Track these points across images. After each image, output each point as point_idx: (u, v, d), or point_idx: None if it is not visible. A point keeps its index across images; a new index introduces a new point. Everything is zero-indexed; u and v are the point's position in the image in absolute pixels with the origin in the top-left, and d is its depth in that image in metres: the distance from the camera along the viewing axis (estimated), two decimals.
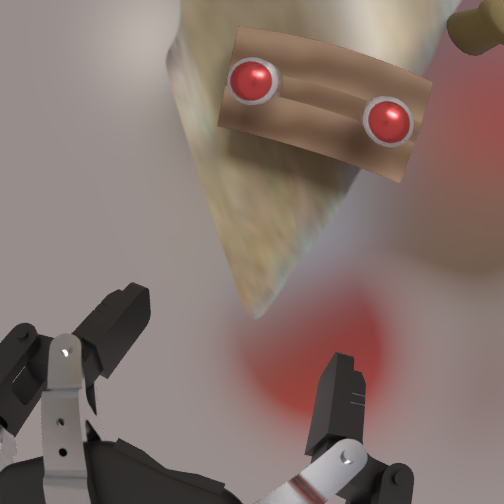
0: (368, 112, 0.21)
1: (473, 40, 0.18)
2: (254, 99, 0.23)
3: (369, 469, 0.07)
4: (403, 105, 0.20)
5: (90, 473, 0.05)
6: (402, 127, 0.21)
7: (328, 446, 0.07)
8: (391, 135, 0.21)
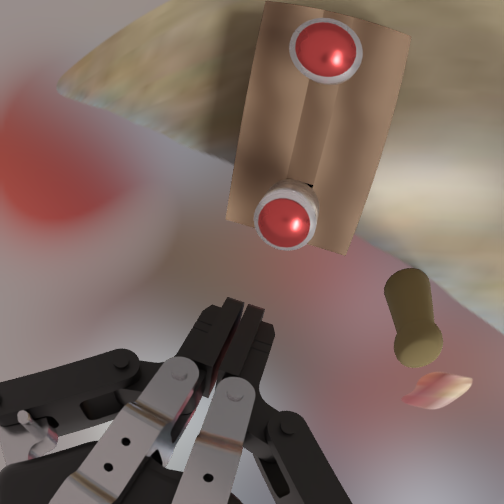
0: (292, 198, 0.20)
1: (398, 302, 0.29)
2: (297, 53, 0.15)
3: (261, 414, 0.08)
4: (307, 239, 0.21)
5: (122, 497, 0.05)
6: (279, 238, 0.21)
7: None
8: (267, 226, 0.21)
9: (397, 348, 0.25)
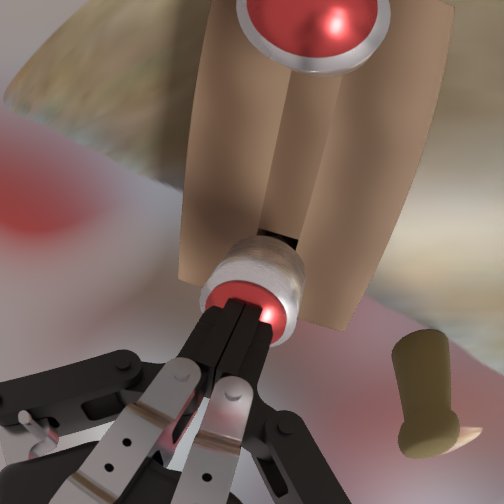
0: (256, 282, 0.12)
1: (409, 378, 0.21)
2: (251, 12, 0.06)
3: (259, 414, 0.08)
4: (282, 338, 0.13)
5: (122, 497, 0.05)
6: None
7: None
8: None
9: (402, 443, 0.17)
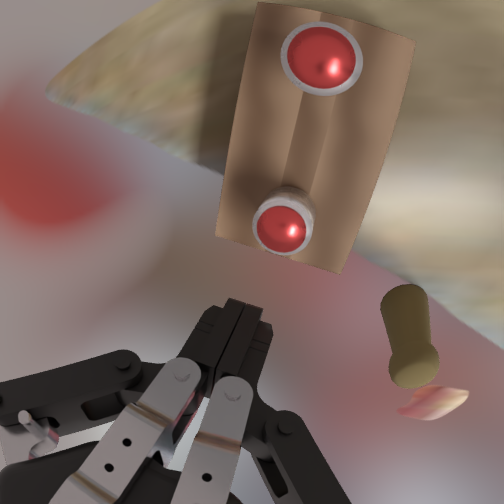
0: (289, 206, 0.21)
1: (395, 320, 0.28)
2: (289, 61, 0.13)
3: (259, 414, 0.08)
4: (303, 245, 0.22)
5: (122, 497, 0.05)
6: (277, 244, 0.22)
7: None
8: (265, 232, 0.22)
9: (392, 370, 0.24)
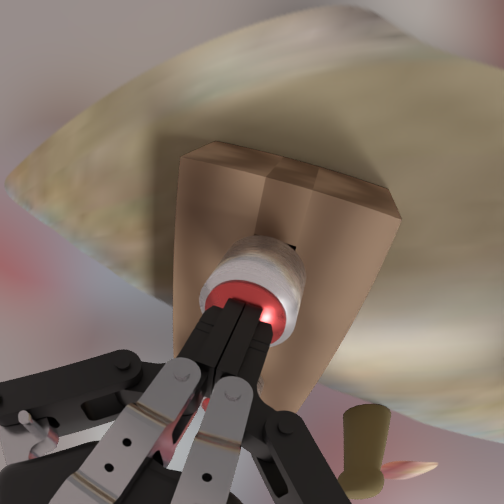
0: None
1: (350, 442, 0.26)
2: None
3: (259, 414, 0.08)
4: None
5: (122, 497, 0.05)
6: None
7: None
8: None
9: None
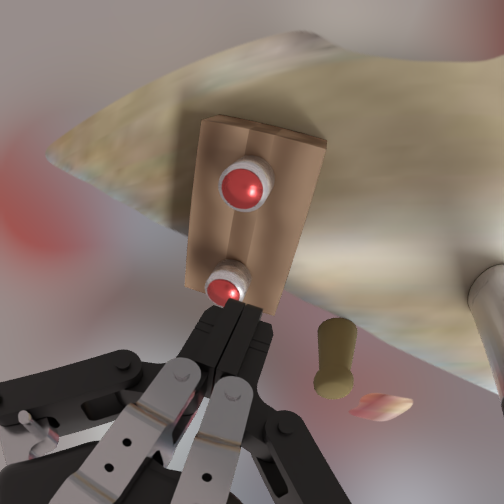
0: (227, 279, 0.31)
1: (322, 347, 0.38)
2: (223, 192, 0.26)
3: (259, 414, 0.08)
4: None
5: (122, 498, 0.05)
6: (221, 302, 0.32)
7: None
8: (213, 294, 0.32)
9: (314, 385, 0.35)
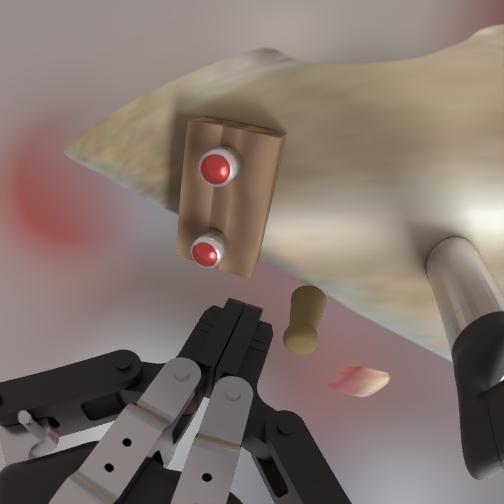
0: (207, 242, 0.39)
1: (293, 309, 0.46)
2: (201, 172, 0.34)
3: (259, 414, 0.08)
4: (217, 262, 0.40)
5: (122, 497, 0.05)
6: (203, 262, 0.41)
7: None
8: (197, 256, 0.40)
9: (283, 340, 0.42)
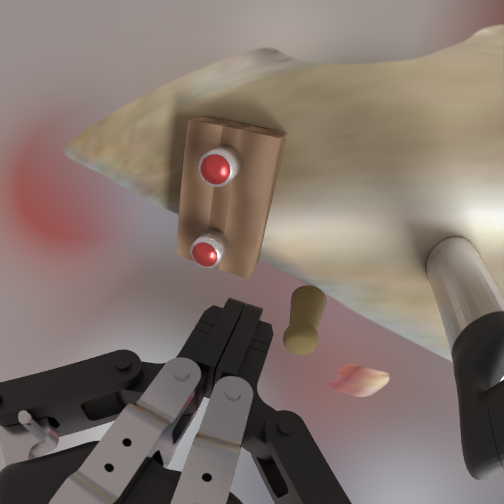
0: (207, 242, 0.39)
1: (293, 309, 0.46)
2: (201, 172, 0.34)
3: (259, 414, 0.08)
4: (217, 262, 0.40)
5: (122, 497, 0.05)
6: (203, 262, 0.41)
7: None
8: (197, 256, 0.40)
9: (283, 340, 0.42)
